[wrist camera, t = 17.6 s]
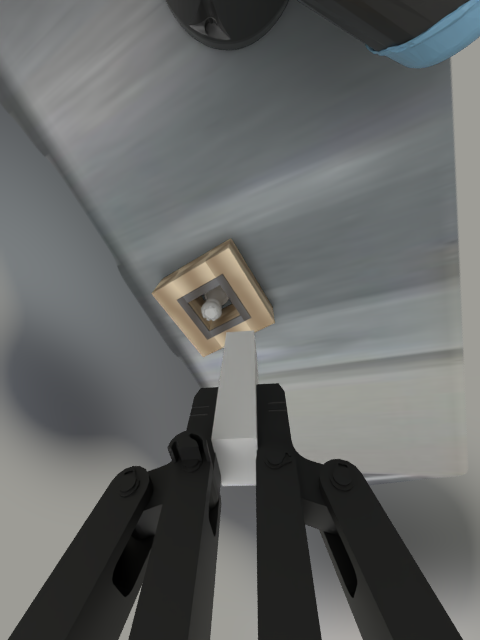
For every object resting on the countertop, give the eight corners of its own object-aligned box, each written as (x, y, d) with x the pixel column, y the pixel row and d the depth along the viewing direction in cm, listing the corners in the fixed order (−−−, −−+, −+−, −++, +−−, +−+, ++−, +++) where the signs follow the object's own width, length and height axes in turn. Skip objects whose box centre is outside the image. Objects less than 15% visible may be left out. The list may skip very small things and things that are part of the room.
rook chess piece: (209, 304, 50) (200, 328, 43) (202, 281, 48) (191, 303, 41) (233, 300, 49) (228, 324, 43) (227, 277, 47) (220, 298, 40)
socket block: (231, 237, 44) (228, 248, 39) (272, 305, 50) (275, 323, 44) (162, 279, 48) (150, 294, 43) (207, 338, 54) (203, 358, 48)
